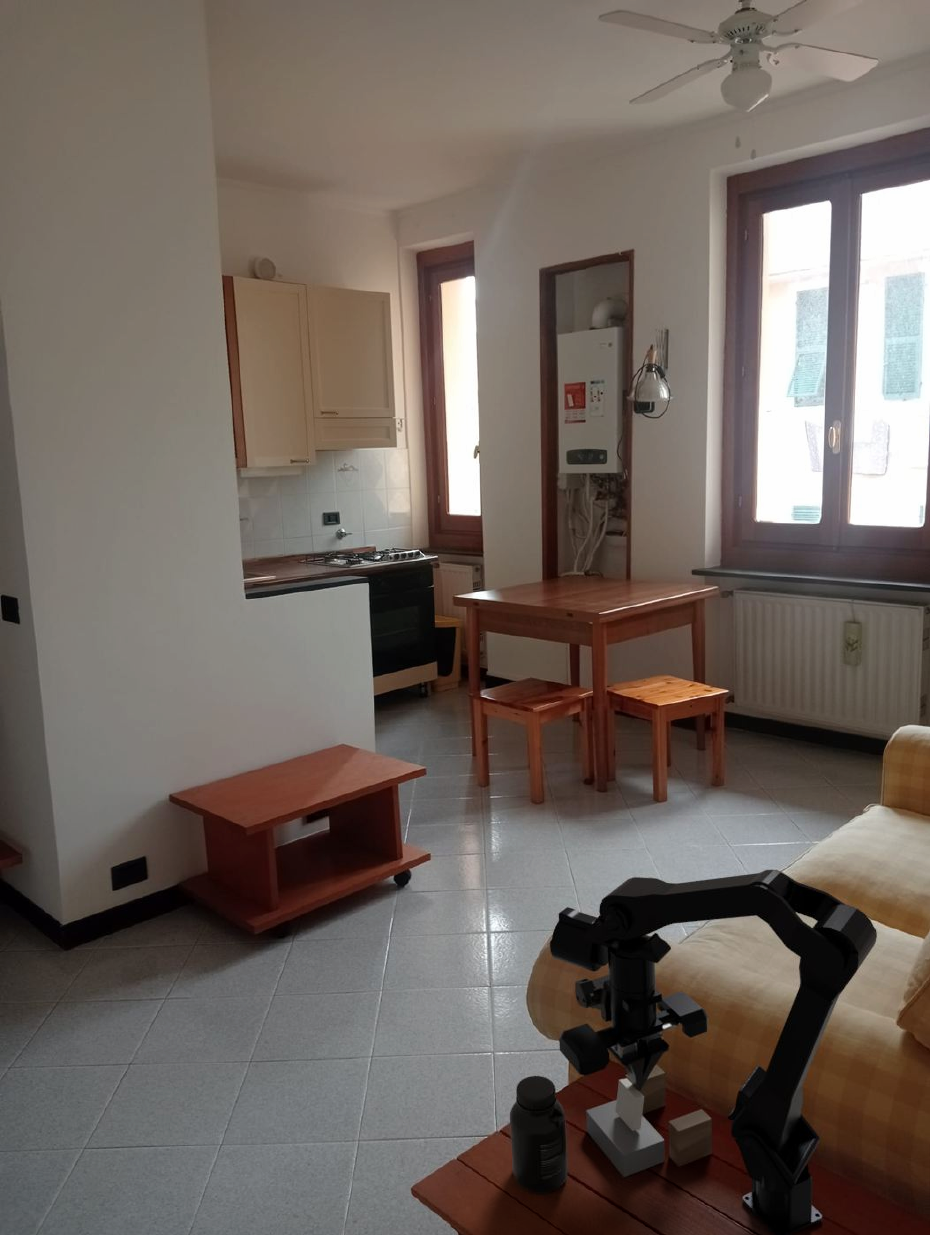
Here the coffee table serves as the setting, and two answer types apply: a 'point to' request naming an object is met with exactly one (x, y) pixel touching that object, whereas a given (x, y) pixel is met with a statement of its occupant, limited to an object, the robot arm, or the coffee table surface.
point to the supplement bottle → (538, 1136)
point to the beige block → (690, 1137)
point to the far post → (653, 1090)
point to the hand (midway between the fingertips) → (636, 1090)
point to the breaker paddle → (629, 1104)
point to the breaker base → (625, 1140)
